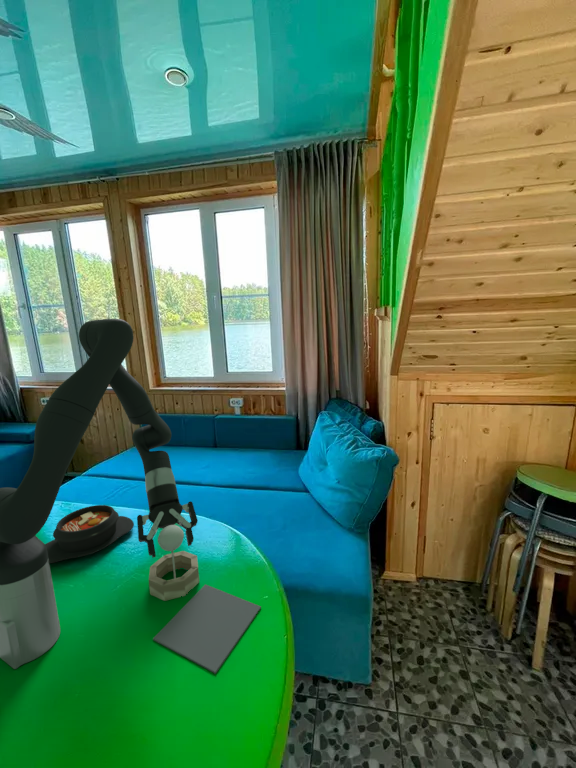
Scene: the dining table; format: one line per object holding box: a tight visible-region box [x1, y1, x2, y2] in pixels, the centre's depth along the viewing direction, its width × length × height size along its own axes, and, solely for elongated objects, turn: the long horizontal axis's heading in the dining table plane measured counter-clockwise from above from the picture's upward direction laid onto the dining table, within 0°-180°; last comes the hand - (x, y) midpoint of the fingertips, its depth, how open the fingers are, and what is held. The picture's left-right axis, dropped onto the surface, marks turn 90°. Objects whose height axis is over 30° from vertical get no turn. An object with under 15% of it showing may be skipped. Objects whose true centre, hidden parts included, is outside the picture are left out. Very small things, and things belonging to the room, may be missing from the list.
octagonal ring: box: [148, 550, 200, 602], centre depth 83 cm, size 12×11×4 cm
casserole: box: [44, 504, 135, 564], centre depth 100 cm, size 25×19×8 cm
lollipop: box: [157, 524, 185, 579], centre depth 82 cm, size 6×6×15 cm
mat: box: [152, 583, 262, 675], centre depth 71 cm, size 16×16×1 cm
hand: (172, 550), depth 82 cm, fingers open, 8 cm apart
